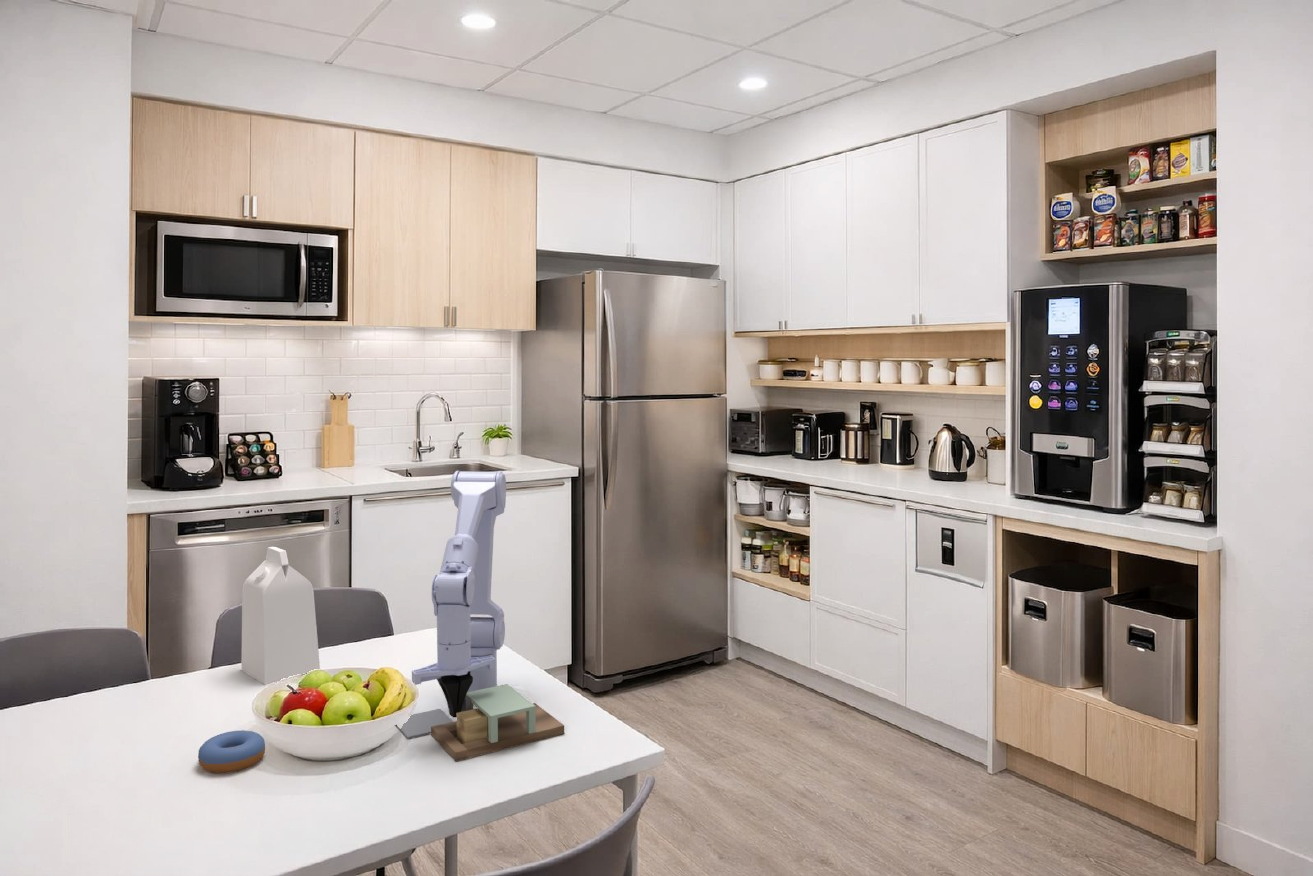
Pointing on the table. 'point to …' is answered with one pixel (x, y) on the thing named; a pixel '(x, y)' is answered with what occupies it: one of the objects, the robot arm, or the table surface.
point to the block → (471, 726)
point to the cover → (500, 707)
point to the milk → (278, 621)
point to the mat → (423, 723)
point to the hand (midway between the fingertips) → (455, 715)
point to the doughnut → (231, 751)
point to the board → (508, 734)
